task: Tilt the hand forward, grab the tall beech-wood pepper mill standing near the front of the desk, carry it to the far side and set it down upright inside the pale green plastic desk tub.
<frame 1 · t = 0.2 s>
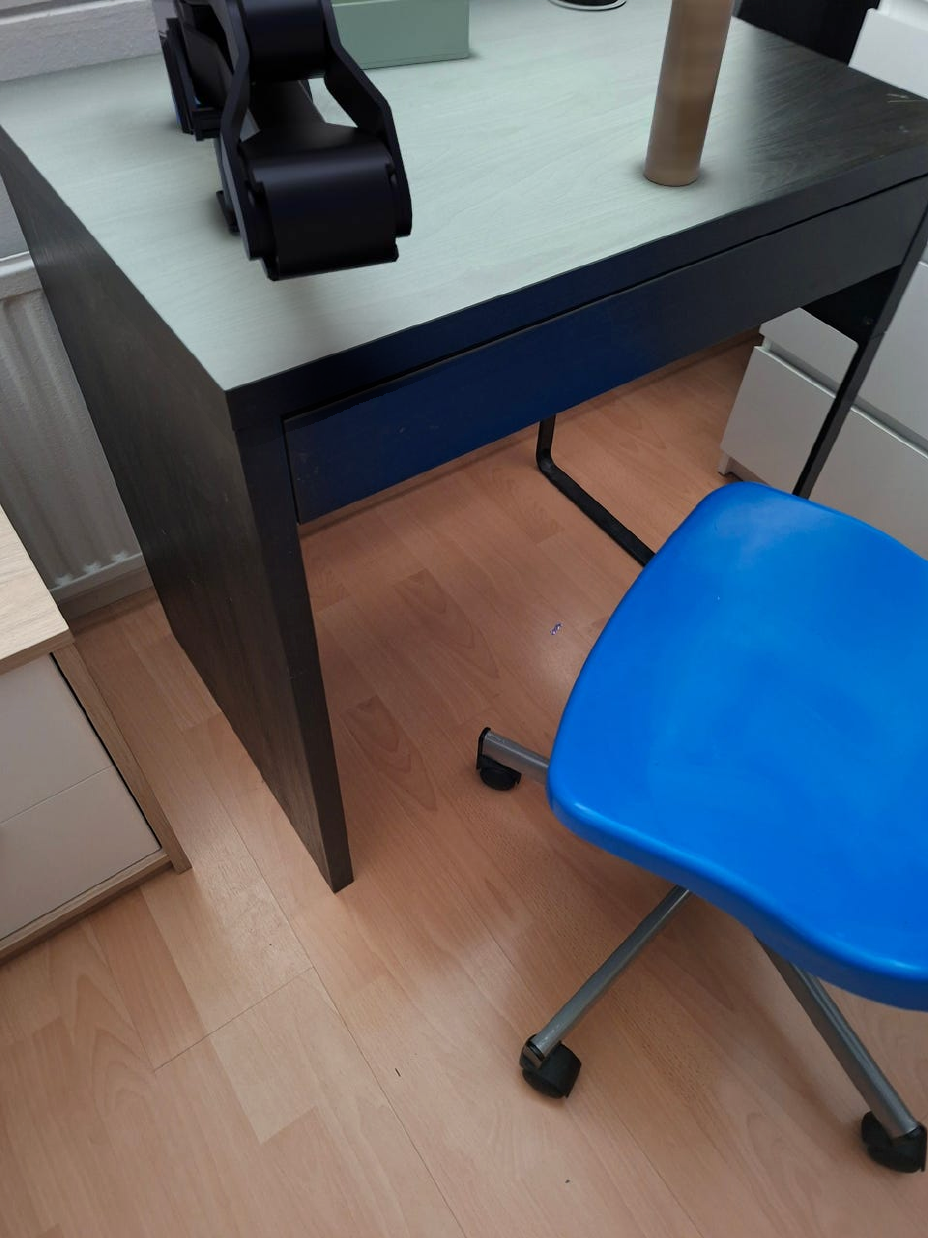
tub: (377, 41, 90), on the table
ink box: (220, 112, 78), on the table
pepper mill: (670, 174, 70), on the table
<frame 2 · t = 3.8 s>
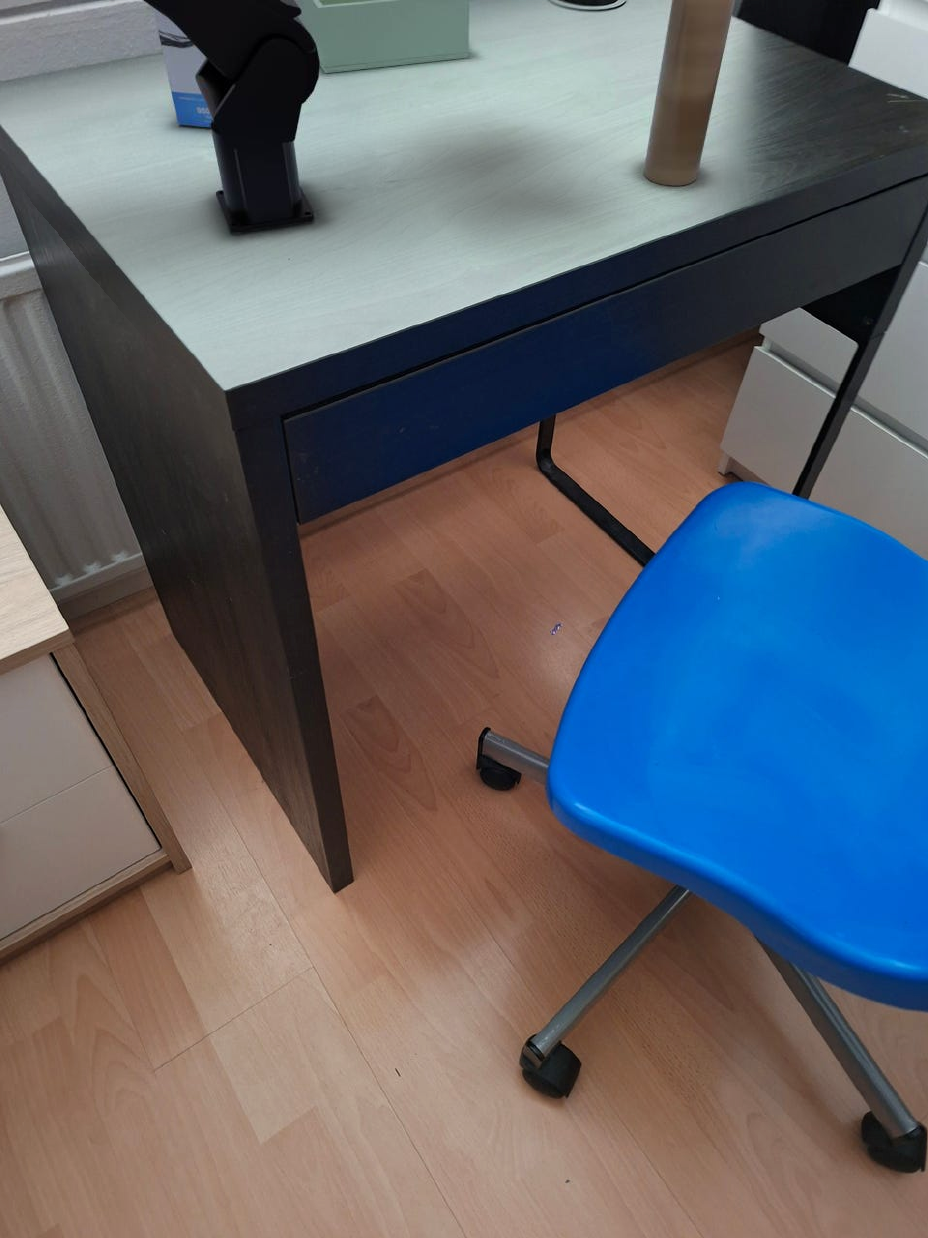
nothing on the table moved.
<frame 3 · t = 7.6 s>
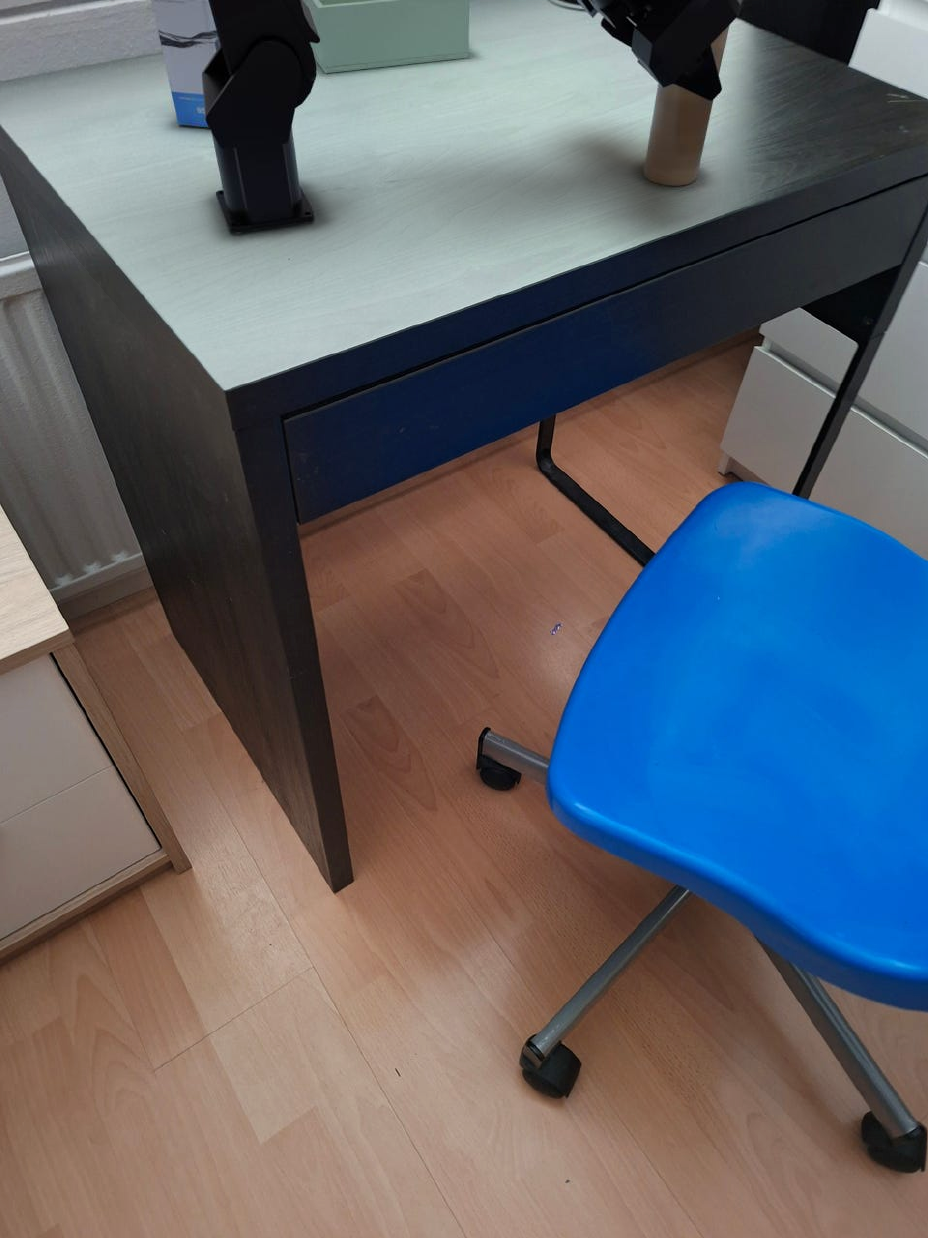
hand: (704, 83, 65), 7 cm above the table, tool tilted 45°, fingers closed on pepper mill, 4 cm apart
pepper mill: (670, 174, 70), on the table, touching gripper
everything else where it was.
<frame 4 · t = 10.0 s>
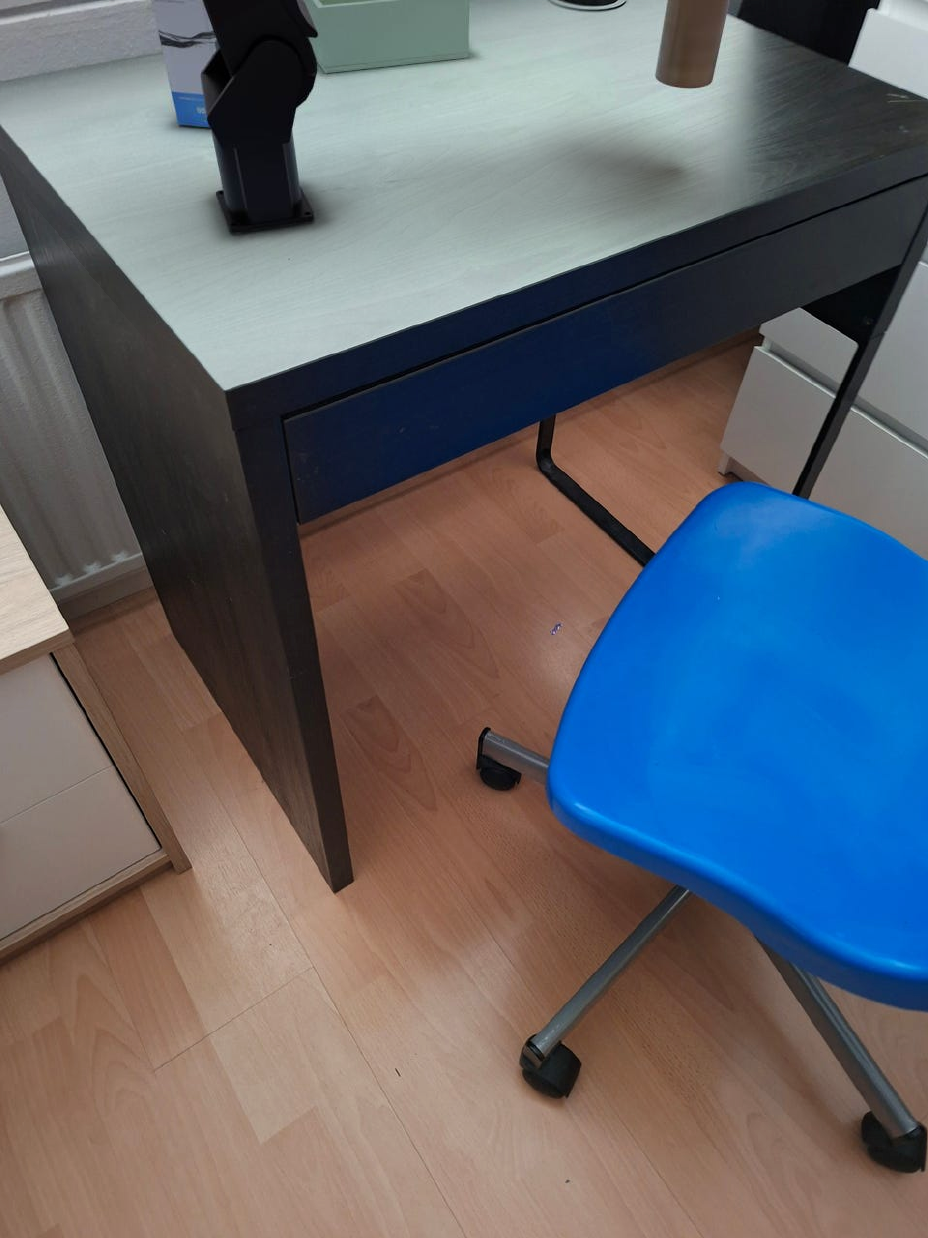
pepper mill: (683, 78, 65), point 7 cm above the table, touching gripper
everything else where it was.
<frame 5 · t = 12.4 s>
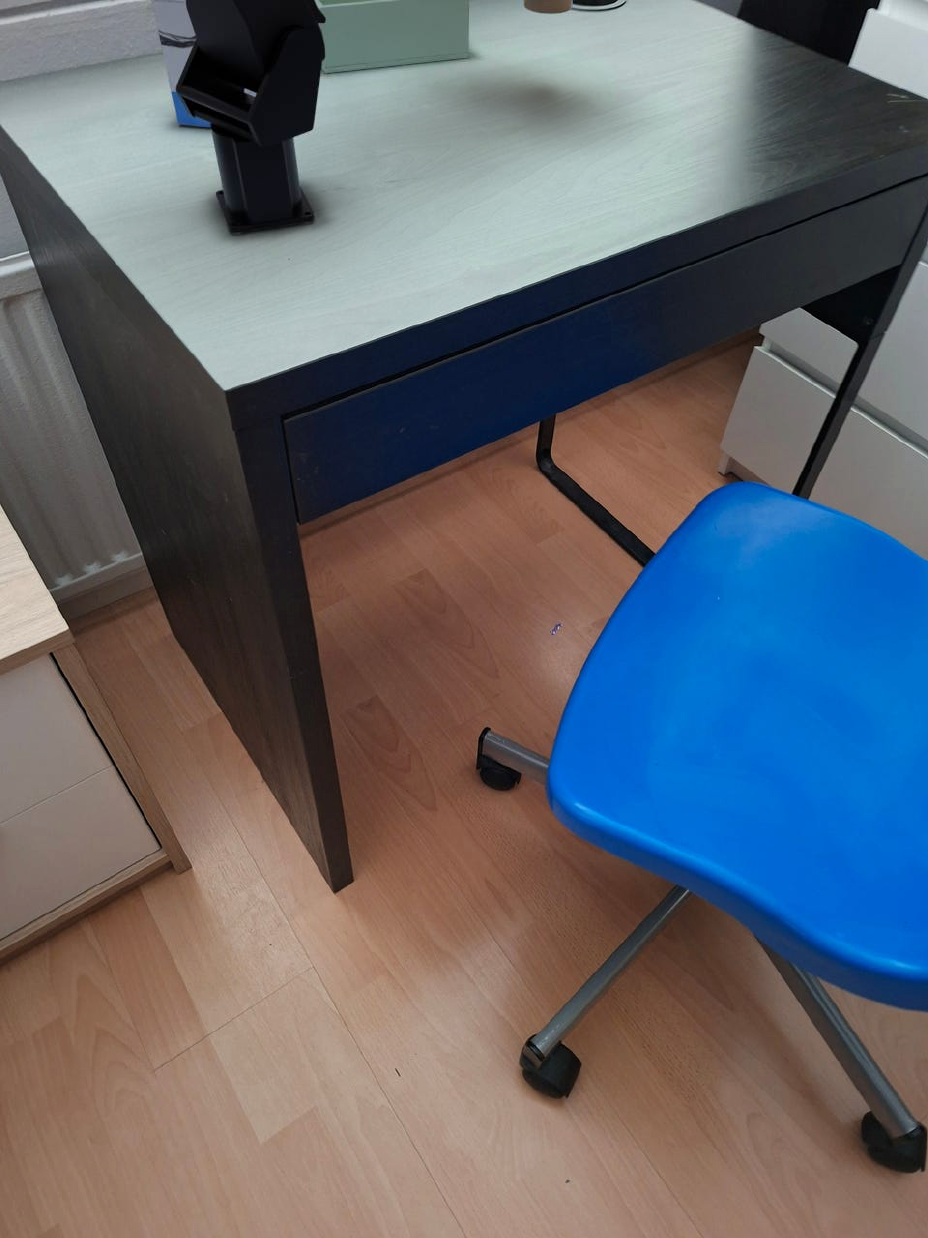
pepper mill: (547, 6, 76), point 7 cm above the table, touching gripper
everything else where it was.
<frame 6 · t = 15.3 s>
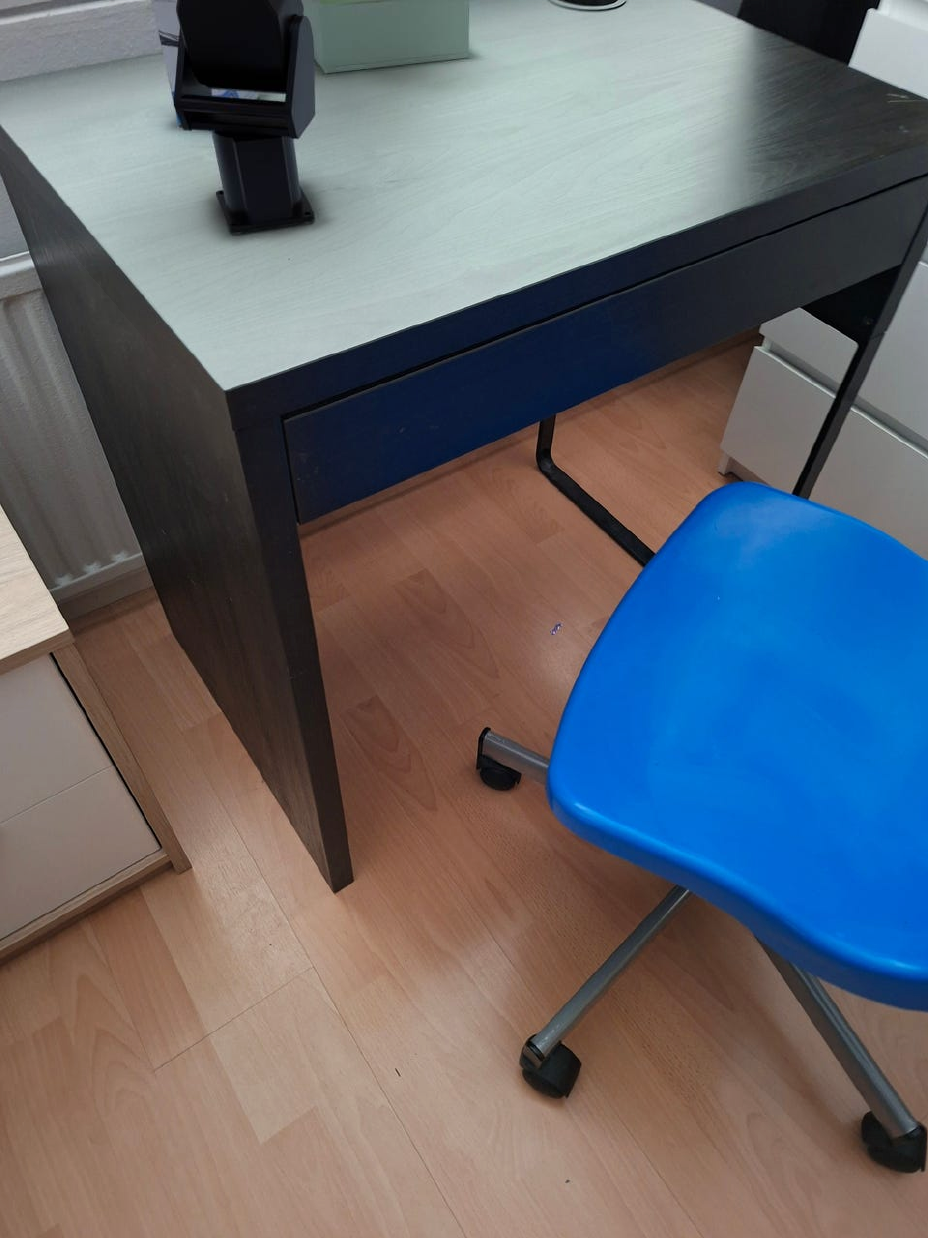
when the fingers open (7 cm above the table, at t = 17.3 s): pepper mill stays where it is, resting on tub.
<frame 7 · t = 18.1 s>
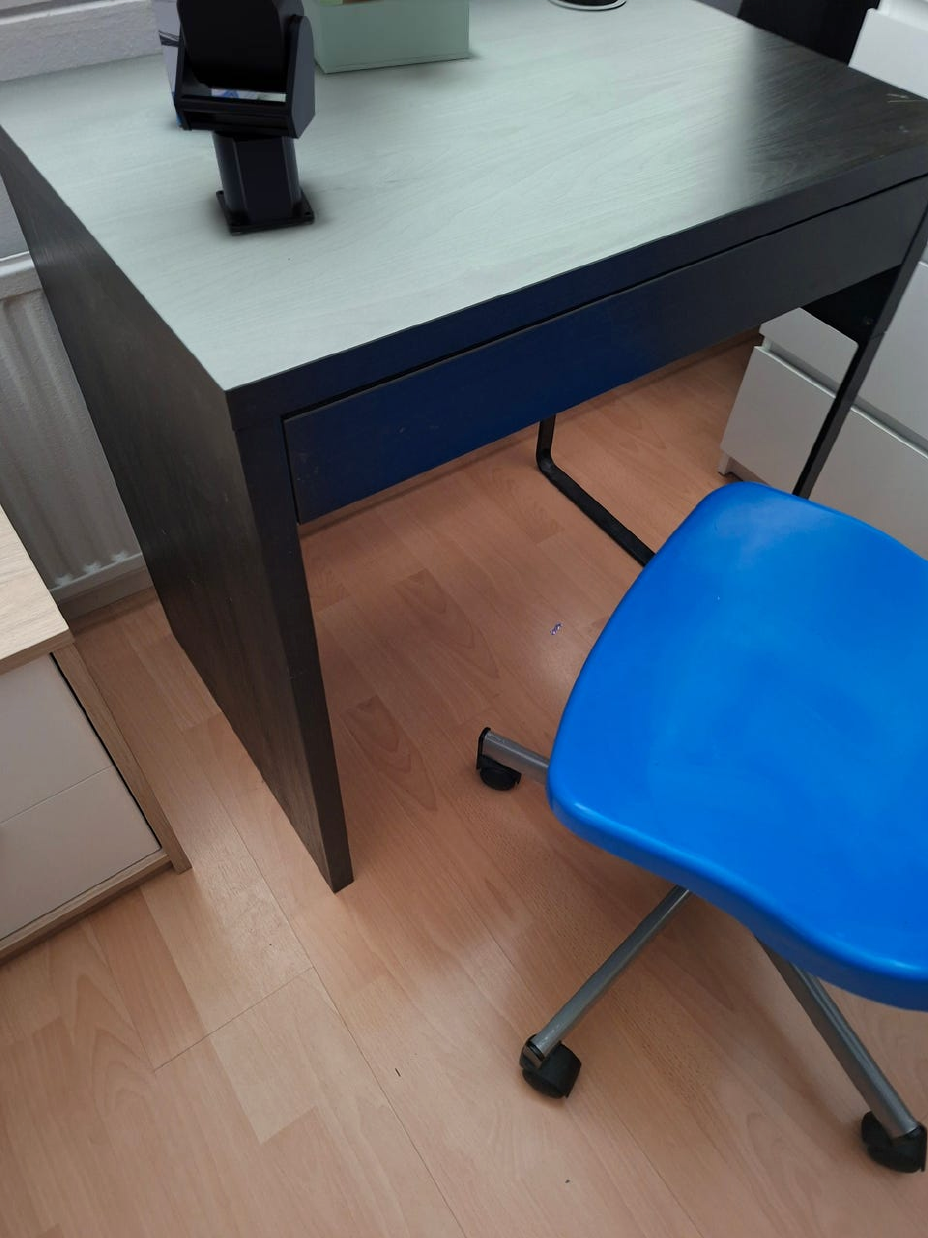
pepper mill: (367, 49, 87), resting on tub
everything else where it was.
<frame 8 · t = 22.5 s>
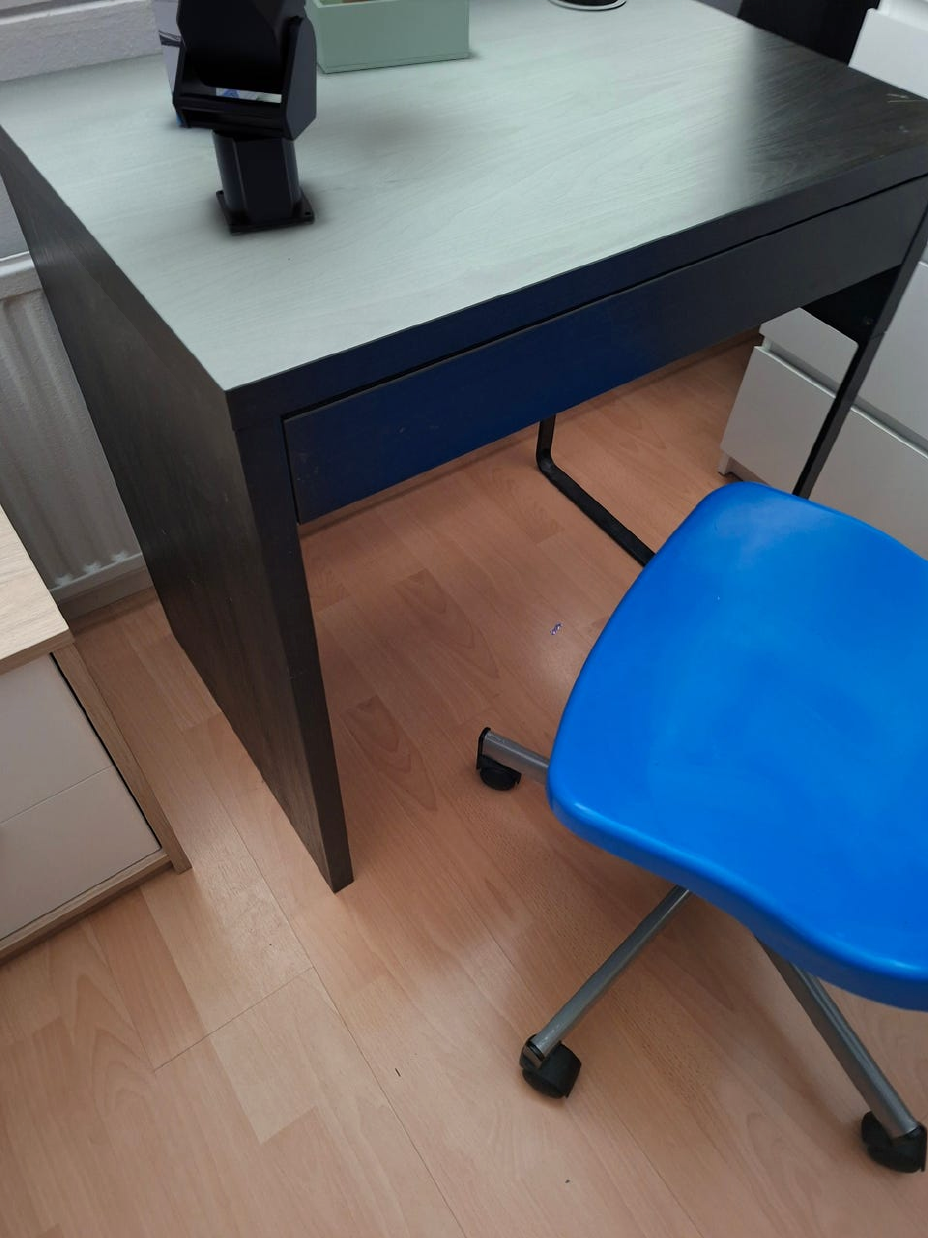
nothing on the table moved.
at the end: pepper mill inside the target area in the tub (4.4 cm from its centre), point 0.5 cm above the tub's base; pepper mill tilted 0°; the gripper is holding nothing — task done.
